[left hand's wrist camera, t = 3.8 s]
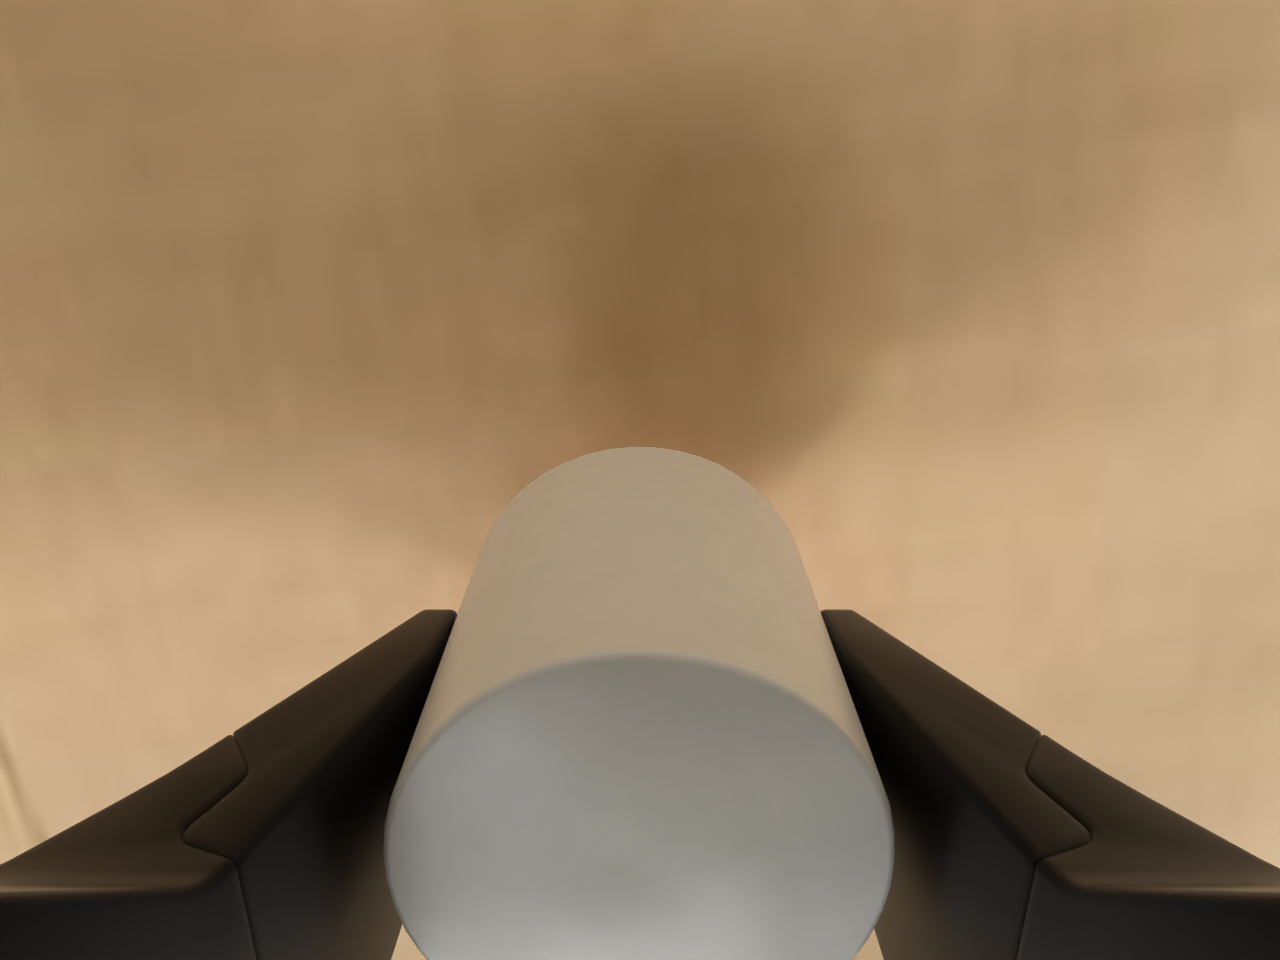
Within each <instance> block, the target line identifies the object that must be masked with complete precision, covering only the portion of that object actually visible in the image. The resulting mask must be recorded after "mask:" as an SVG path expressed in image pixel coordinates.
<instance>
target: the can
mask: <svg viewBox="0 0 1280 960" xmlns="http://www.w3.org/2000/svg"><path fill="white" fill-rule="evenodd" d="M383 854H384V862H385V871H386V878H387V882H388V886H389V889H390V893H391V896H392V900H393V903H394V906H395V909H396V911H397V913H398V915H399V917H400V919H401V921H402V924H403V926H404V928H405V930H406V931H407V933H408V934H409V936H410V937H411V939H412V940H413V942H414V943H415V945H416V946H417V948H418V949H419V951H420V952H421V953H422V954H423V956H424V957H425V958H426V959H427V960H852V959H853V958H854V957H855V956H856V954H857V953H858V952H859V950H860V949H861V947H862V946H863V945H864V943H865V942H866V940H867V939H868V937H869V936H870V935H871V933H872V931H873V929H874V927H875V925H876V923H877V921H878V919H879V917H880V915H881V913H882V911H883V908H884V905H885V902H886V899H887V896H888V893H889V890H890V886H891V881H892V875H893V868H894V862H895V828H894V823H893V818H892V812H891V807H890V803H889V800H888V797H887V795H886V792H885V789H884V786H883V784H882V781H881V778H880V775H879V773H878V770H877V767H876V764H875V762H874V759H873V756H872V753H871V750H870V748H869V745H868V742H867V739H866V737H865V734H864V731H863V728H862V726H861V723H860V720H859V717H858V715H857V712H856V709H855V706H854V703H853V701H852V698H851V695H850V692H849V690H848V687H847V684H846V681H845V679H844V676H843V673H842V670H841V668H840V665H839V662H838V659H837V657H836V654H835V651H834V648H833V645H832V643H831V640H830V637H829V634H828V632H827V629H826V626H825V623H824V621H823V618H822V615H821V612H820V610H819V607H818V604H817V601H816V598H815V596H814V593H813V590H812V587H811V585H810V582H809V579H808V576H807V574H806V571H805V568H804V565H803V563H802V560H801V557H800V554H799V552H798V549H797V546H796V543H795V541H794V538H793V536H792V534H791V533H790V531H789V529H788V527H787V525H786V523H785V522H784V520H783V519H782V517H781V516H780V515H779V513H778V512H777V511H776V509H775V508H774V507H773V505H772V504H771V503H770V502H769V501H768V500H767V499H766V498H765V497H764V496H763V495H762V494H761V493H760V492H759V491H758V490H757V489H756V488H755V487H753V486H752V485H751V484H749V483H748V482H747V481H745V480H744V479H743V478H742V477H740V476H739V475H737V474H735V473H734V472H732V471H730V470H728V469H727V468H725V467H723V466H721V465H719V464H717V463H714V462H712V461H710V460H707V459H705V458H702V457H700V456H697V455H693V454H689V453H685V452H682V451H678V450H672V449H665V448H657V447H623V448H614V449H606V450H602V451H598V452H594V453H590V454H585V455H583V456H580V457H577V458H575V459H572V460H569V461H567V462H564V463H562V464H560V465H558V466H556V467H555V468H553V469H551V470H549V471H547V472H545V473H544V474H542V475H541V476H539V477H538V478H537V479H535V480H534V481H532V482H531V483H530V484H528V485H527V486H526V487H525V488H523V489H522V490H521V491H520V492H519V493H518V494H517V495H516V496H515V497H514V498H513V499H512V500H511V501H510V502H509V503H508V505H507V506H506V507H505V508H504V510H503V511H502V512H501V513H500V515H499V516H498V517H497V519H496V521H495V522H494V524H493V526H492V527H491V529H490V531H489V532H488V534H487V537H486V539H485V542H484V544H483V547H482V549H481V551H480V554H479V557H478V560H477V562H476V565H475V568H474V571H473V573H472V576H471V579H470V582H469V584H468V587H467V590H466V593H465V595H464V598H463V601H462V604H461V606H460V609H459V612H458V615H457V617H456V620H455V623H454V626H453V628H452V631H451V634H450V637H449V639H448V642H447V645H446V647H445V650H444V653H443V656H442V658H441V661H440V664H439V667H438V669H437V672H436V675H435V678H434V680H433V683H432V686H431V689H430V691H429V694H428V697H427V700H426V702H425V705H424V708H423V711H422V713H421V716H420V719H419V722H418V724H417V727H416V730H415V733H414V735H413V738H412V741H411V744H410V746H409V749H408V752H407V755H406V757H405V760H404V763H403V766H402V768H401V771H400V774H399V777H398V779H397V782H396V785H395V788H394V790H393V793H392V796H391V799H390V803H389V807H388V812H387V816H386V821H385V826H384V845H383Z"/></svg>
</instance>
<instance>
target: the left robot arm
mask: <svg viewBox="0 0 1280 960" xmlns="http://www.w3.org/2000/svg"><path fill="white" fill-rule="evenodd" d="M821 615H822V618H823V621H824V623H825V626H826V629H827V632H828V634H829V637H830V640H831V643H832V645H833V648H834V651H835V654H836V657H837V659H838V662H839V665H840V668H841V670H842V673H843V676H844V679H845V681H846V684H847V687H848V690H849V692H850V695H851V698H852V701H853V703H854V706H855V709H856V712H857V715H858V717H859V720H860V723H861V726H862V728H863V731H864V734H865V737H866V739H867V742H868V745H869V748H870V750H871V753H872V756H873V759H874V762H875V764H876V767H877V770H878V773H879V775H880V778H881V781H882V784H883V786H884V789H885V792H886V795H887V797H888V800H889V803H890V807H891V812H892V818H893V823H894V828H895V862H894V868H893V875H892V881H891V886H890V890H889V893H888V896H887V899H886V902H885V905H884V908H883V911H882V913H881V915H880V917H879V919H878V921H877V923H876V925H875V927H874V929H875V932H876V935H877V939H878V942H879V945H880V948H881V952H882V955H883V958H884V960H1280V868H1278V867H1276V866H1274V865H1272V864H1270V863H1268V862H1266V861H1264V860H1262V859H1260V858H1258V857H1256V856H1254V855H1252V854H1250V853H1249V852H1247V851H1245V850H1243V849H1241V848H1240V847H1238V846H1236V845H1234V844H1232V843H1230V842H1229V841H1227V840H1225V839H1223V838H1221V837H1219V836H1218V835H1216V834H1214V833H1212V832H1210V831H1208V830H1207V829H1205V828H1203V827H1201V826H1199V825H1198V824H1196V823H1194V822H1192V821H1190V820H1188V819H1187V818H1185V817H1183V816H1181V815H1179V814H1177V813H1176V812H1174V811H1172V810H1170V809H1168V808H1167V807H1165V806H1163V805H1161V804H1159V803H1157V802H1156V801H1154V800H1152V799H1150V798H1148V797H1147V796H1145V795H1143V794H1141V793H1140V792H1138V791H1136V790H1134V789H1132V788H1131V787H1129V786H1127V785H1125V784H1124V783H1122V782H1120V781H1118V780H1117V779H1115V778H1113V777H1111V776H1109V775H1108V774H1106V773H1104V772H1103V771H1101V770H1100V769H1098V768H1096V767H1095V766H1093V765H1092V764H1090V763H1088V762H1087V761H1085V760H1083V759H1082V758H1080V757H1079V756H1077V755H1075V754H1074V753H1072V752H1071V751H1069V750H1067V749H1066V748H1064V747H1063V746H1061V745H1060V744H1058V743H1057V742H1055V741H1054V740H1052V739H1051V738H1049V737H1048V736H1046V735H1042V736H1041V733H1040V732H1039V731H1038V730H1036V729H1035V728H1033V727H1032V726H1030V725H1029V724H1027V723H1026V722H1024V721H1023V720H1021V719H1020V718H1018V717H1016V716H1015V715H1013V714H1012V713H1010V712H1009V711H1007V710H1006V709H1004V708H1003V707H1001V706H999V705H998V704H996V703H995V702H993V701H992V700H990V699H989V698H987V697H986V696H984V695H983V694H981V693H979V692H978V691H976V690H975V689H973V688H972V687H970V686H969V685H967V684H966V683H964V682H963V681H961V680H959V679H958V678H956V677H955V676H953V675H952V674H950V673H949V672H947V671H946V670H944V669H942V668H941V667H939V666H938V665H936V664H935V663H933V662H932V661H930V660H929V659H927V658H926V657H924V656H922V655H921V654H919V653H918V652H916V651H915V650H913V649H912V648H910V647H909V646H907V645H906V644H904V643H902V642H901V641H899V640H898V639H896V638H895V637H893V636H892V635H890V634H889V633H887V632H885V631H884V630H882V629H881V628H879V627H878V626H876V625H875V624H873V623H872V622H870V621H869V620H867V619H865V618H864V617H862V616H861V615H859V614H858V613H856V612H854V611H853V610H823V611H821ZM456 617H457V613H456V612H455V611H453V610H423V611H421V612H420V613H418V614H417V615H415V616H413V617H412V618H410V619H409V620H407V621H406V622H404V623H403V624H401V625H399V626H398V627H396V628H395V629H393V630H392V631H390V632H389V633H387V634H385V635H384V636H382V637H381V638H379V639H378V640H376V641H375V642H373V643H372V644H370V645H368V646H367V647H365V648H364V649H362V650H361V651H359V652H358V653H356V654H354V655H353V656H351V657H350V658H348V659H347V660H345V661H344V662H342V663H340V664H339V665H337V666H336V667H334V668H333V669H331V670H330V671H328V672H327V673H325V674H323V675H322V676H320V677H319V678H317V679H316V680H314V681H313V682H311V683H309V684H308V685H306V686H305V687H303V688H302V689H300V690H299V691H297V692H295V693H294V694H292V695H291V696H289V697H288V698H286V699H285V700H283V701H281V702H280V703H278V704H277V705H275V706H274V707H272V708H270V709H269V710H267V711H266V712H264V713H263V714H261V715H260V716H258V717H256V718H255V719H253V720H252V721H250V722H249V723H247V724H246V725H244V726H242V727H241V728H239V729H238V730H236V731H235V732H234V733H233V736H232V735H228V736H227V737H225V738H224V739H222V740H221V741H219V742H217V743H216V744H214V745H213V746H211V747H210V748H208V749H207V750H205V751H203V752H202V753H200V754H199V755H197V756H195V757H194V758H192V759H190V760H189V761H187V762H186V763H184V764H182V765H181V766H179V767H177V768H176V769H174V770H173V771H171V772H169V773H168V774H166V775H164V776H163V777H161V778H159V779H157V780H155V781H154V782H152V783H150V784H148V785H146V786H145V787H143V788H141V789H139V790H138V791H136V792H134V793H132V794H130V795H129V796H127V797H125V798H123V799H121V800H120V801H118V802H116V803H114V804H112V805H110V806H109V807H107V808H105V809H103V810H101V811H99V812H98V813H96V814H94V815H92V816H90V817H88V818H87V819H85V820H83V821H81V822H79V823H77V824H76V825H74V826H72V827H70V828H68V829H66V830H64V831H63V832H61V833H59V834H57V835H55V836H53V837H52V838H50V839H48V840H46V841H44V842H42V843H41V844H39V845H37V846H35V847H33V848H31V849H30V850H28V851H26V852H24V853H22V854H20V855H19V856H17V857H15V858H13V859H11V860H9V861H7V862H5V863H3V864H1V865H0V960H391V958H392V955H393V952H394V948H395V945H396V942H397V939H398V936H399V933H400V929H401V926H402V921H401V919H400V917H399V915H398V913H397V911H396V909H395V906H394V903H393V900H392V896H391V893H390V889H389V886H388V882H387V878H386V871H385V862H384V854H383V845H384V826H385V821H386V816H387V812H388V807H389V803H390V799H391V796H392V793H393V790H394V788H395V785H396V782H397V779H398V777H399V774H400V771H401V768H402V766H403V763H404V760H405V757H406V755H407V752H408V749H409V746H410V744H411V741H412V738H413V735H414V733H415V730H416V727H417V724H418V722H419V719H420V716H421V713H422V711H423V708H424V705H425V702H426V700H427V697H428V694H429V691H430V689H431V686H432V683H433V680H434V678H435V675H436V672H437V669H438V667H439V664H440V661H441V658H442V656H443V653H444V650H445V647H446V645H447V642H448V639H449V637H450V634H451V631H452V628H453V626H454V623H455V620H456Z"/></svg>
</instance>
